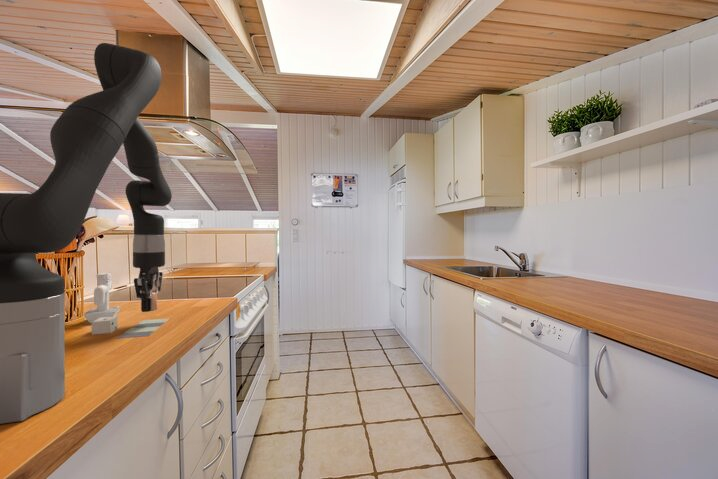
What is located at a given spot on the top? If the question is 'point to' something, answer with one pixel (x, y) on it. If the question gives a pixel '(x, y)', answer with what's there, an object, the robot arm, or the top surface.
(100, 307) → the figurine
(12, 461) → the top surface
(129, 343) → the top surface
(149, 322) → the board
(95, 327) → the die
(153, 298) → the pawn
